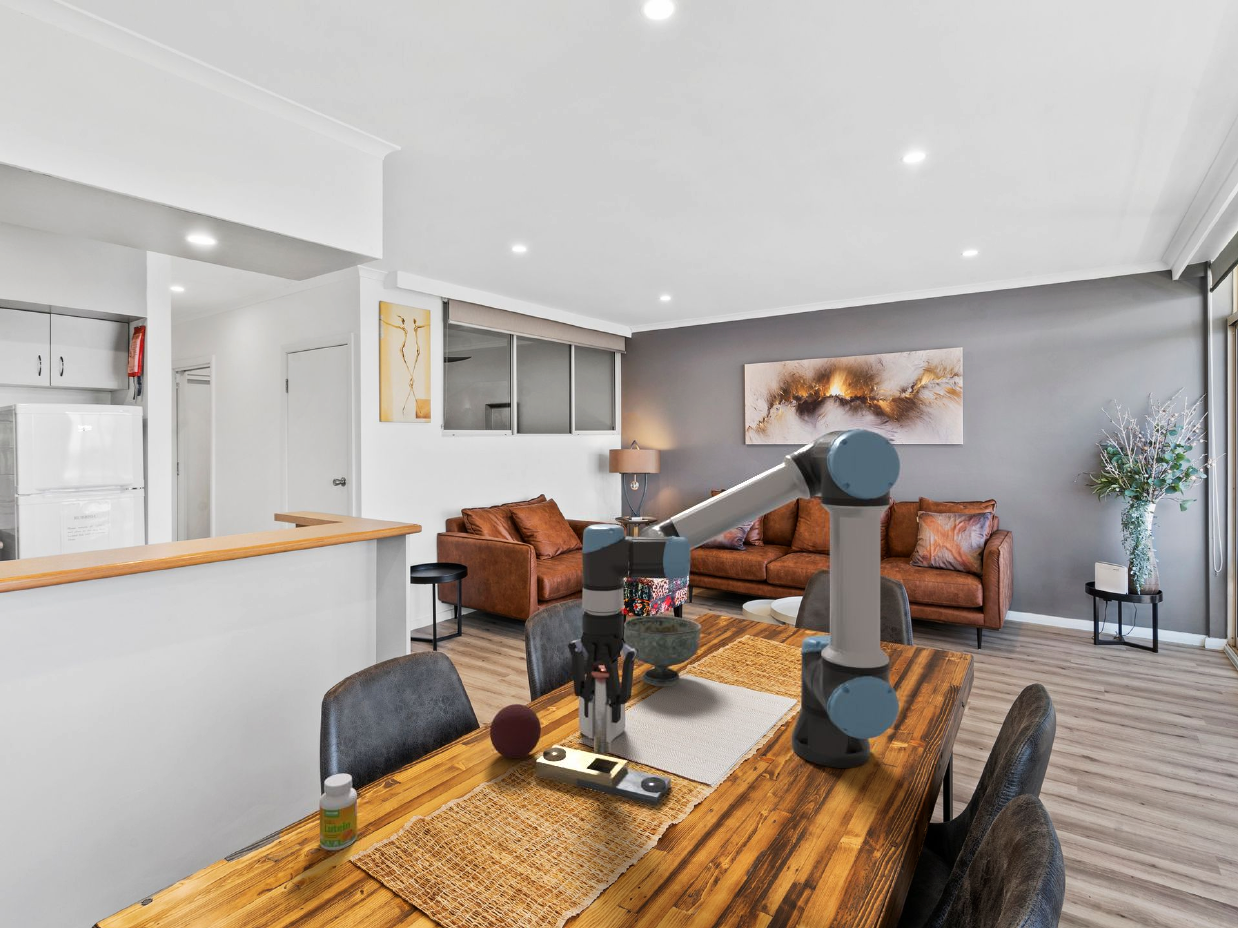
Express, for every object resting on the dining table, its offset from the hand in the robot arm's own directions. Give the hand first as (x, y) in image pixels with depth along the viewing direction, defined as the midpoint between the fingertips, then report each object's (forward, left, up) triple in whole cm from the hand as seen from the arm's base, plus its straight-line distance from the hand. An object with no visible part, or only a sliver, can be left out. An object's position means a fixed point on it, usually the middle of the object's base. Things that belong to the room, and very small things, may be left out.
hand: (602, 736), depth 121 cm
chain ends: (0, 0, -8) cm, 8 cm away
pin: (0, 0, -3) cm, 3 cm away
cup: (+9, -19, -9) cm, 23 cm away
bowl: (+8, -54, -9) cm, 55 cm away
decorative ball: (+20, -2, -9) cm, 22 cm away
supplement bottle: (+30, +33, -9) cm, 45 cm away
